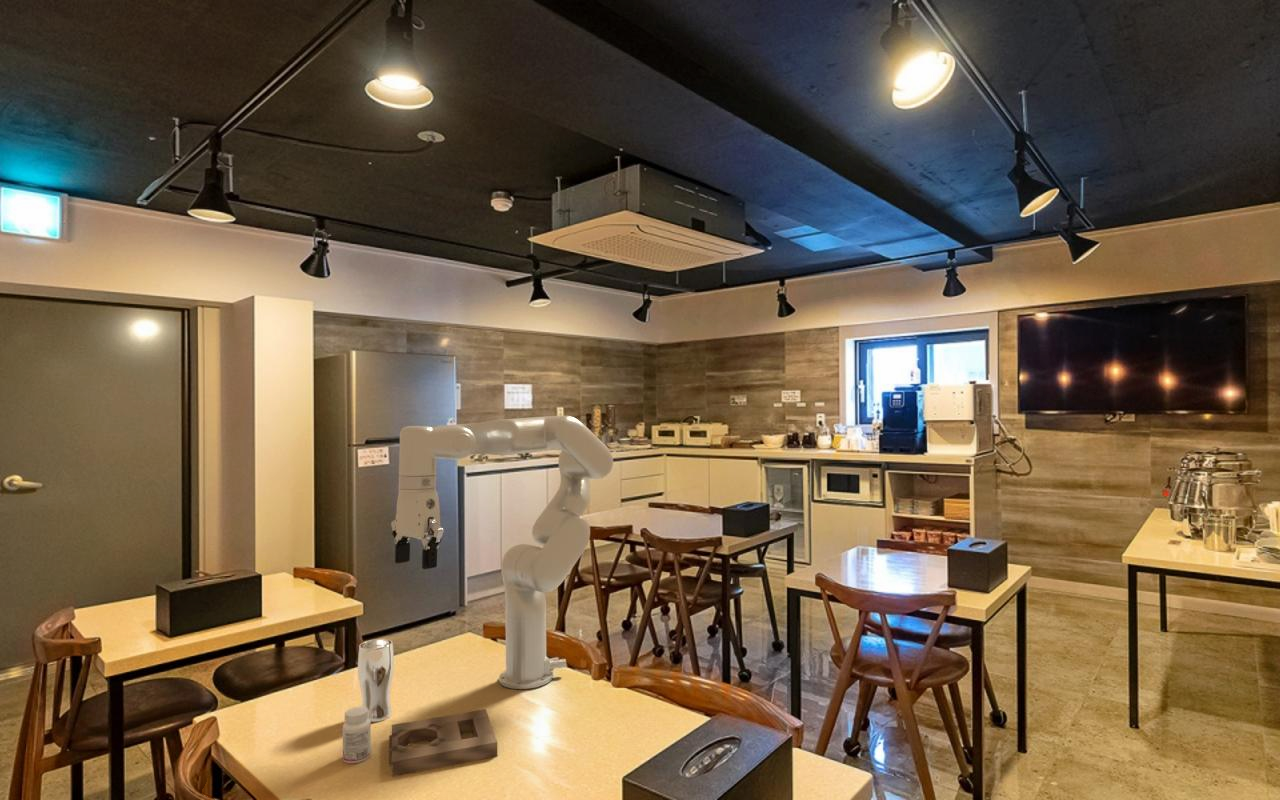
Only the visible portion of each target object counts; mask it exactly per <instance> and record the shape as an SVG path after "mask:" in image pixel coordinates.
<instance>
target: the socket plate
mask: <svg viewBox="0 0 1280 800" xmlns="http://www.w3.org/2000/svg"><path fill="white" fill-rule="evenodd" d="M487 711H488V710H487V708H484V709H476V710H471V711H465V712H460V713H453V714H447V715H442V716H436V717H435V716H434V717H429V718H425V719H418V720H413V721H406V722H400V723H394V724H391V734H390V735H389V736H388V738H389V740H388V747H389V748H388V749H390V750H389V751H388V754H389V755H388V756H389V757H388V759H389V761H388V762H389V763H388V764H389V765H391V776H393V777H396V775H398V776H402V775H409V774H413V773H418V772H422V771H427V770H432V769H439V768H442V767H448V766H453V765H458V764H463V763H467V762H472V761H479V760H482V759H483V760H484V759H488V758H493V757H498V740H497V737H496V734H495V731H494V729H493V726H492V723H491V720H490V717H489V714H488V712H487ZM468 733H473V736H474V737H469V738H462V736H461V734H468ZM424 742H426V743H428V744H422V745H418V746H412V747H407V746H408V744H409V745H412V743H413V744H417V743H424Z"/></svg>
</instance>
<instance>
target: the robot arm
mask: <svg viewBox="0 0 1280 800" xmlns="http://www.w3.org/2000/svg"><path fill="white" fill-rule="evenodd" d="M545 451H546V452H547V451H560V452H559V456H558V461H557V462H558V469H559V473H560V474H559V475H560V484H559V487H558V490H557V491H556V492H555V494H554V496H553V498H551V500H550V501H549V503H548V504H547V505H546V507H545V508H544V509H543V511H542V512H541V514H540V515H539V516H538V517H537V519H536V520H535V523H534V524H533V526H532V531H531V534H532V537H533V540H534V541H535V542H536V543H537V544H538V545H539V546H536V545H531V544H526V543H525V544H524V543H522V544H516V545H513V546H512V547H510V548H508V549H507V551H506V552H505V553H504V554H503V555H504V556H503V558H502V562H501V566H500V568H501V569H500V570H501V577H502V582H503V588H504V602H505V669H504V670H503V671H502V672H501V673H500V674H499V676H498V678H499V679H498V680H499V682H498V683H499V684H500V685H501V686H504V687H505V688H508V689H512V690H513V689H514V690H528V689H534V688H539V687H542V686H544V685H547V684H549V682H551V681H552V680H553V678H554V669H561V668H562V669H563V668H567V659H566V658H562V659H561V658H560V659H559V657H558V656H556V657H552V658H549V657H548V656H547V601H546V599H547V598H546V595H545V593H550V592H552V591H554V590H556V589H557V588H559V586H561V584H562V583H563V582H564V581H565V579H566V578H567V576H568V575H569V574H570V572H571V570H572V569H574V566H575V564H577V562H578V561H579V559H580V558H581V556H582V554H583V553H584V551H585V550H586V548H587V546H588V544H589V541H590V537H591V525H590V524H589V520H587V518H586V517H584V516H583V514H584V513H585V511H586V510H587V507H588V506H589V502H590V499H591V489H590V487H591V486H590V481H589V479H591V480H592V479H593V480H599V479H603V478H605V477H607V476H608V475H609V474H610V473H611V472H612V469H613V467H614V459H613V458H614V457H613V454H612V452H611V450H610V448H608V446H607V445H606V444H605V443H604V442H603V441H601V439H599V438H598V436H596V435H595V434H594V433H593V431H592V430H590V429H589V427H587V426H586V425H585V423H583V422H582V421H580V420H578V419H577V418H575V417H574V416H571V415H548V416H532V417H530V416H529V417H518V418H505V419H497V420H496V419H495V420H488V421H482V422H471V423H460V424H457V423H456V424H447V425H436V426H434V427H433V426H427V425H408V426H404V427H402V428H401V429H400V432H399V454H398V455H399V458H398V459H399V461H398V465H399V466H398V495H397V501H396V510H395V519H394V520H392V521H391V522H390V525H391V530H392V533H391V534H392V536H393V538H394V539H393V543H394V545H395V548H394V549H395V550H394V562H395V564H403V563H408V562H410V560H411V559H410V558H411V542H409V541H410V539H414V540H420V541H421V543H422V545H423V548H424V549H422V553H421V554H422V555H421V557H422V558H421V568H422V569H423V570H428V569H433V568H437V566H438V549H439V547H440V543H442V538H443V534H444V532H445V531H444V528H443V526H441V511H440V509H441V507H440V500H439V493H438V491H437V490H436V489H437V488H436V487H437V459H440V460H442V459H443V460H453V461H455V460H456V461H458V460H463V459H466V458H468V457H469V456H472V455H473V456H475V455H486V456H487V455H489V456H490V455H491V456H511V455H512V456H513V455H521V454H529V453H537V452H538V453H539V452H545ZM540 546H542V547H540Z"/></svg>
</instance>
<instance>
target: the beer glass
mask: <svg viewBox="0 0 1280 800" xmlns="http://www.w3.org/2000/svg"><path fill="white" fill-rule="evenodd" d="M393 643H394V641H393V640H392V639H390V638H374V639H370V640H366V641H363V642H361V643H360V644H359V645H358V649H359V650H358V658H357V663H358V664H357V674H358V680H359V681H358V682H359V686H360V693H361V698H362V699H361V701H362V703H361V705H362V706H361V707H367V708H368V713H369V717H368V718H369V719H370V721H371V723H378V722H381V720H382V721H384V719H385V720H387V719H388V718H390V717H391V716H392V714H393V713H392V707H391V701H390V699H391V698H390V697H391V696H390V693H391V687H392V682H393V681H392V680H393V676H394V674H393V673H394V666H395V661H394V657H395V656H394V655H395V654H394V646H393ZM389 716H390V717H389ZM386 718H387V719H386Z"/></svg>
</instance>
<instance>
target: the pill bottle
mask: <svg viewBox="0 0 1280 800" xmlns="http://www.w3.org/2000/svg"><path fill="white" fill-rule="evenodd" d="M368 717H369V713H368V708H367V707H362V706H355V707H352V708H349V709H348V710H346V711H345V712H344V723H343V725H342V760H343V762H344V763H346V764H358V763H362V762H364V761H366V760H367V759H369V758H370V757H371V756H372V755H371V754H372V745H371V744H372V743H371V741H372V739H371V738H372V736H371V735H372V734H371V733H372V732H371V727H372V726H371V723H372V722H371V721H370V719H369V718H368Z"/></svg>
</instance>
